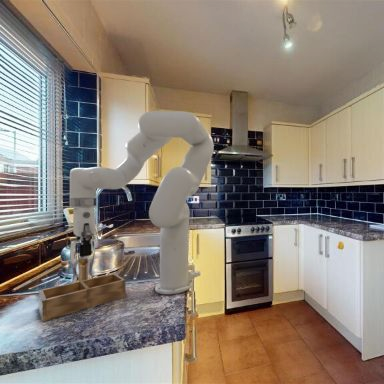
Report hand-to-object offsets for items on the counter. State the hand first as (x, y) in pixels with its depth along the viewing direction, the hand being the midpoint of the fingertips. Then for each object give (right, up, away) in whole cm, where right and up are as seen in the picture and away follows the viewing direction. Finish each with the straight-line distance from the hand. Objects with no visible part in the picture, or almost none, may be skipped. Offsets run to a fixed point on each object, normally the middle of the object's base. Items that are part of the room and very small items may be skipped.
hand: (82, 253), depth 80 cm
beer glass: (0, -10, 0) cm, 10 cm away
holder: (+8, -12, -11) cm, 18 cm away
